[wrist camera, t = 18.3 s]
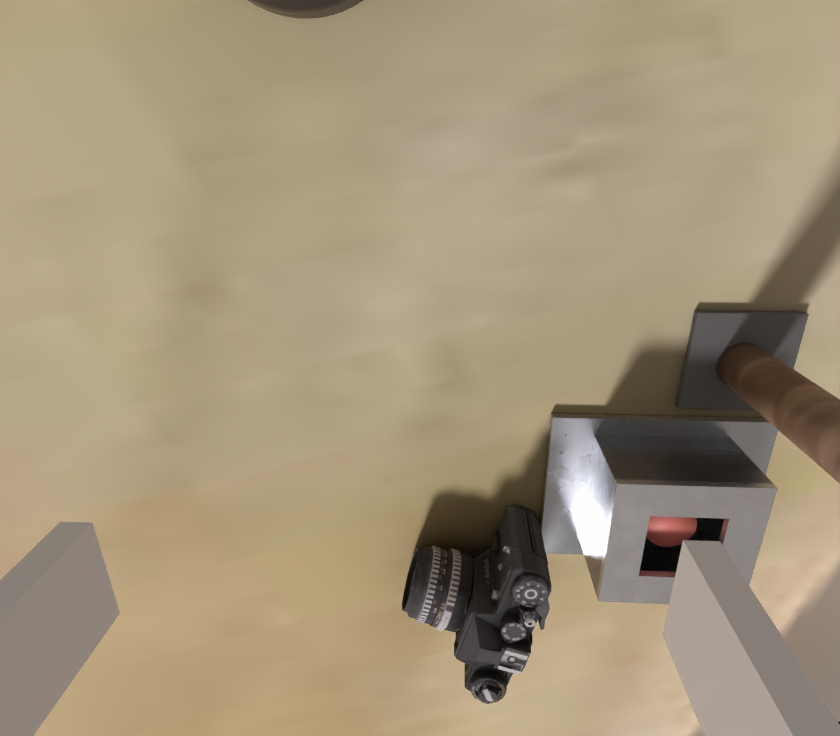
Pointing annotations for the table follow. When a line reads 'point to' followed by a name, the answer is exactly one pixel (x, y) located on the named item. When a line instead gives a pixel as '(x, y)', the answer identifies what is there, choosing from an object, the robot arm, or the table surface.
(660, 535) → the breaker button
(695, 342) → the rubber mat
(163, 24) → the table surface
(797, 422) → the walnut dowel
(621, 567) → the box
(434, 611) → the camera
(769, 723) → the robot arm
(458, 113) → the table surface
